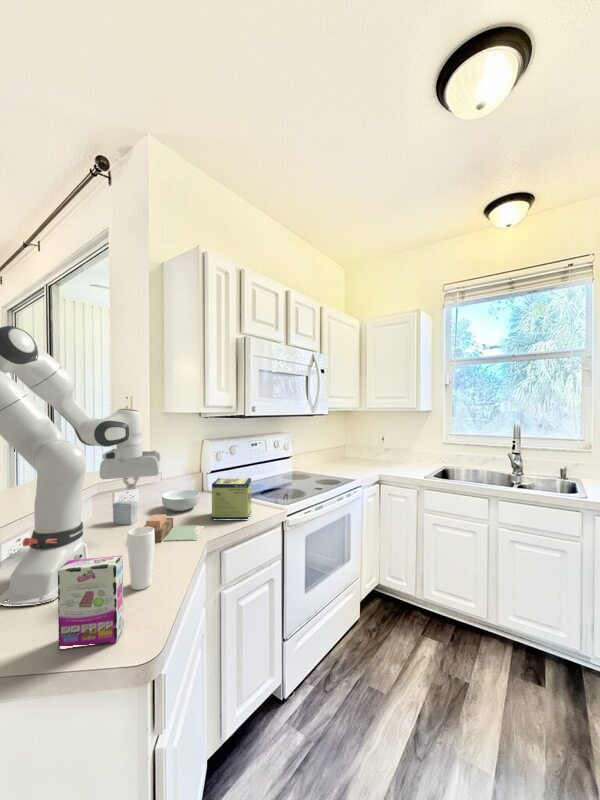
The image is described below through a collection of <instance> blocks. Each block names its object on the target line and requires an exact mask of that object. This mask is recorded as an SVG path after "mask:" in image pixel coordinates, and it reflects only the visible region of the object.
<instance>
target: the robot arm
mask: <svg viewBox="0 0 600 800" xmlns="http://www.w3.org/2000/svg"><path fill="white" fill-rule="evenodd" d="M11 374H13V375H15V377H17V378H18V379H19V380H20V381H21V383H23V385H25V386H26V387H27V388H28V389H29V390H30V391H31V392H32V393H33V394H35V395H36V396H37V397H38V398H40V399H42V400H43V401H44V402H46V403H47V404H48V405H50V406H51V407H52V408H54V409H55V411H57V412H58V413H59V415H61V416H62V418H64V419H65V421H66V422H67V423H69V425H71V427H72V428H73V429H74V432H75V434H76V437H77V439H78V441H80V443H81V444H83V445H86V446H90V447H92V446H96V447H102V448H103V447H105V448H106V447H107V448H109V447H112V446H115V445H116V448H113V449H111V450H109V451H106V452H104V453H103V454H102V461H101V462H100V466H99V478H100V479H102V480H110V479H111V480H113V479H114V480H115V479H122V482H123V483H124V484H125V485H126V490H127V491H128V490H135V489H136V487H137V483H138V481H139V479H140V478H142V477H155V476H158V475H159V474H160V473H161V468H160V467H161V465H160V461H161V454H160V453H159V452H158V451H156V450H152V451H151V450H150V451H149V450H148V451H147V450H145V451H144V442H143V438H142V436H143V431H144V430H143V420H142V415H141V413H140V411H138V410H136V409H130V408H120V409H118V410H117V411H116V412H114V413H112V414H110V415H109V416H107V417H104V418H102V419H101V418H97V417H94V416H92V415H90V414H88V412H86V410H85V409H84V408H83V407H82V406H81V405H80V404H79V403H78V401H76V400H75V398H74V395H73V394H74V391H75V387H76V386H75V385H76V383H75V381H74V379H73V377H72V376H71V375H70V373H69V372H68V371H67V370H66V369H65V368H64V367H63V366H62V365H61V364H60V363H59V362H58V361H57V360H56V359H55V358H54V357H53V356H51V355H50V354H49V353H48V352H47V351H45V350H43V349H42V348H41V347H40V346H38V345H37V344H36V341H35V340H34V338H33V337H32V335H30V333H28V332H27V331H25V330H24V329H22V328H19V327H17V326H14V325H6V326H5V325H4V326H1V327H0V436H1V437H2V438H3V440H5V441H6V443H8V444H9V445H10V446H11V448H13V449H14V451H16V452H17V453H18V455H20V456H21V457H22V458H23V459H24V460H25V461H26V463H28V464H29V465H30V466H31V467H32V468H33V469H34V470H35V471H36V475H37V476H36V490H35V498H34V502H33V503H34V505H33V506H34V508H33V509H34V515H33V516H34V520H33V521H34V529H33V531H32V533H31V536H30V537H25V538H24V539H23V541H22V543H21V544H22V546H23V547H26V546H29V548H28V550H27V551H26V552H25V554H24V555H23V557H22V558H21V560H20V561H19V562H18V564H17V566H16V567H15V569H14V570H13V571H12V573H11V574H10V576H9V577H10V579H9V586H8V588H7V589H6V590H5V591H4V592H3V593H2V594H1V595H0V603H2V604H9V605H10V604H11V605H22V604H36V603H43V602H47V601H51V600H53V599H55V598H56V597H58V570H59V569H60V568H61V567H62V566H63V565H64V564H65V563H66V562H67V561H69V560H79V559H89V553H88V546H87V543H86V542H85V541H84V539H83V535H84V524H83V521H82V492H83V491H82V490H83V486H84V480H85V479H84V478H85V472H86V471H85V469H86V465H87V459H86V454H85V452H84V451H83V449H82V448H81V447H80V446H79V445H77V444H75V443H72V442H70V441H69V440H68V439H67V438H66V437H65V436H64V434H63V433H62V432H61V431H60V430H59V428H58V427H57V426H56V425H55V423H54V422H53V421H52V420H51V419H50V416H49V415H48V414H47V413H46V412H45V411H44V410H43V409H42V408H41V407H40V406H39V405H38V403H37V402H36V401H35V400H34V399H33V398H32V397H31V396H30V395H29V394H28V393H27V391H25V389H23V387H21V386H20V384H18V383H17V382H16V380H15V379H13V378H12V377H11ZM129 478H133V480H134V482H133V483H129ZM8 600H9V601H8ZM5 601H7V602H5Z"/></svg>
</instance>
